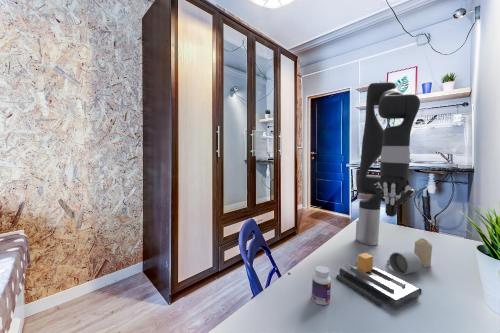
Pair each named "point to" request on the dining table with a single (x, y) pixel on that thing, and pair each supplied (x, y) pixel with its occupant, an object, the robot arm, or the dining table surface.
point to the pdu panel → (381, 285)
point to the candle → (423, 251)
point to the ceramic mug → (404, 262)
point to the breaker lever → (365, 262)
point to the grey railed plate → (364, 291)
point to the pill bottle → (321, 285)
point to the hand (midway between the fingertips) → (390, 215)
